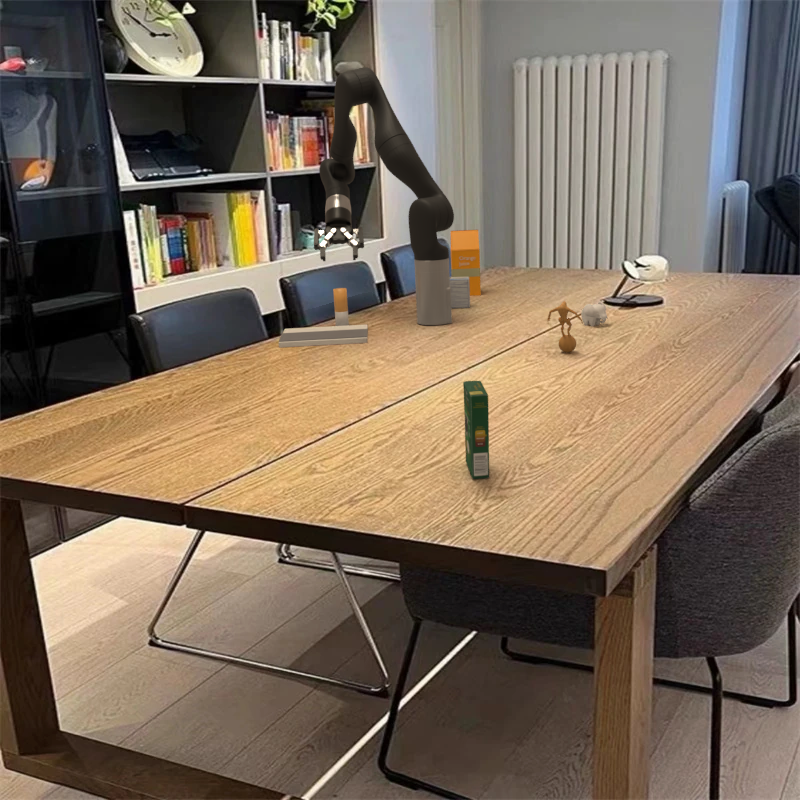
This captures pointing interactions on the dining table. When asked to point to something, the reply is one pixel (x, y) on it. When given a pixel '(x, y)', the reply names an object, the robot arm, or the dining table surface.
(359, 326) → the board
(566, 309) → the figurine
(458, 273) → the orange juice
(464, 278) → the medicine box
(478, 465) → the coffee box
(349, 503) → the dining table surface
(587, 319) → the elephant figurine
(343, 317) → the orange and grey block
